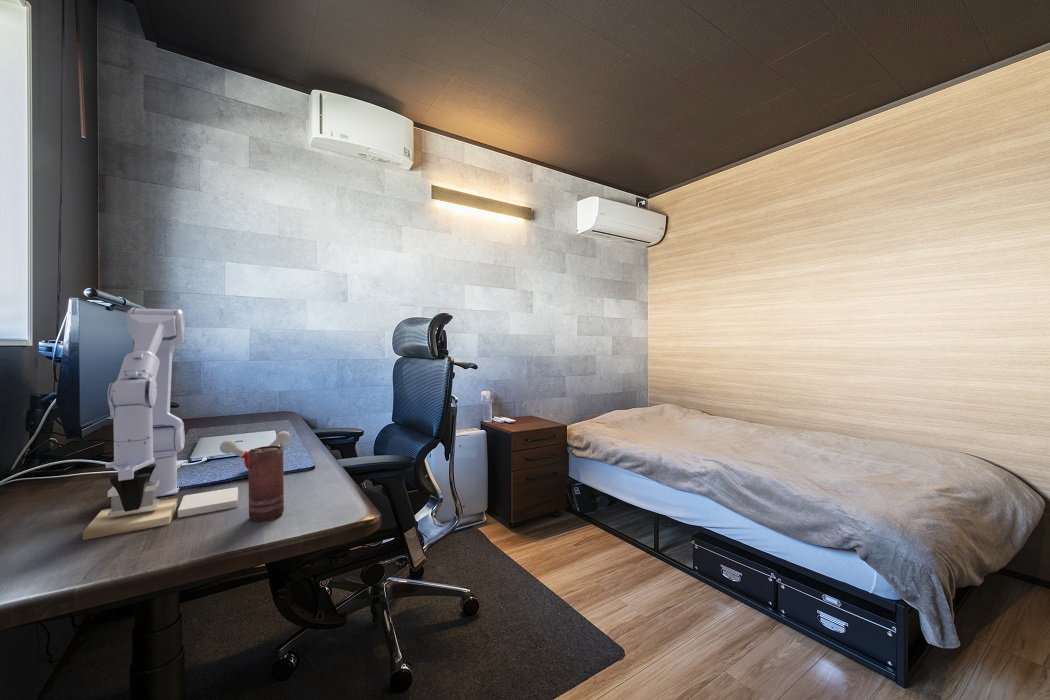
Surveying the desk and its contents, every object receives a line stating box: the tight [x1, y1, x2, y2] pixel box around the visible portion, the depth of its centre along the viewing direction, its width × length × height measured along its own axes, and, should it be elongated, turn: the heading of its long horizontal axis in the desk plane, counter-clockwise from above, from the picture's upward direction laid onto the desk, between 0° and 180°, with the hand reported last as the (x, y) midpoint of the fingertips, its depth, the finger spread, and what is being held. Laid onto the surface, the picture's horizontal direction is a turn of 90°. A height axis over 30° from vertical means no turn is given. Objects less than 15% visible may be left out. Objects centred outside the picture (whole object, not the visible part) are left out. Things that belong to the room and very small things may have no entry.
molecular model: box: [219, 430, 291, 470], centre depth 117 cm, size 18×6×10 cm, turn 145°
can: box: [247, 445, 285, 523], centre depth 86 cm, size 6×6×14 cm
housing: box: [107, 480, 160, 518], centre depth 84 cm, size 7×4×5 cm, turn 124°
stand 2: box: [177, 486, 239, 518], centre depth 92 cm, size 10×10×2 cm
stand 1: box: [82, 497, 179, 541], centre depth 84 cm, size 12×12×2 cm
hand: (134, 506), depth 84 cm, fingers closed on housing, 4 cm apart
